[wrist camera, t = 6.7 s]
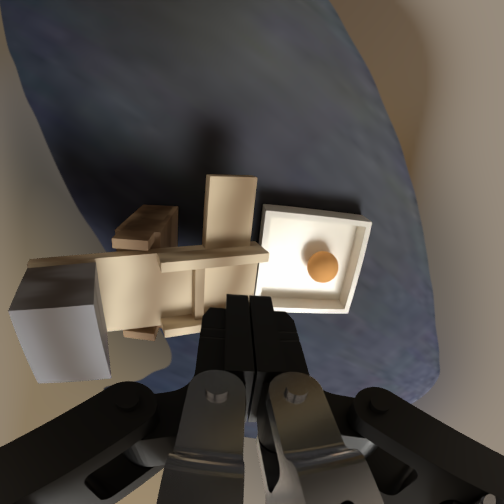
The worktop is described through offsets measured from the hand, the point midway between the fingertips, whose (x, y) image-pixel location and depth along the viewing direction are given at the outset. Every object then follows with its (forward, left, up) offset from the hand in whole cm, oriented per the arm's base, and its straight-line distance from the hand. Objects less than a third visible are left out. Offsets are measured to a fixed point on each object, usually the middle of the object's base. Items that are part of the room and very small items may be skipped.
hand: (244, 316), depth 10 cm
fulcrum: (+7, -8, -22) cm, 25 cm away
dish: (+7, +9, -22) cm, 25 cm away
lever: (+4, -7, -13) cm, 15 cm away
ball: (+7, +10, -22) cm, 25 cm away
